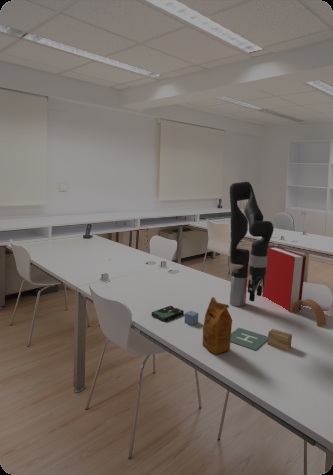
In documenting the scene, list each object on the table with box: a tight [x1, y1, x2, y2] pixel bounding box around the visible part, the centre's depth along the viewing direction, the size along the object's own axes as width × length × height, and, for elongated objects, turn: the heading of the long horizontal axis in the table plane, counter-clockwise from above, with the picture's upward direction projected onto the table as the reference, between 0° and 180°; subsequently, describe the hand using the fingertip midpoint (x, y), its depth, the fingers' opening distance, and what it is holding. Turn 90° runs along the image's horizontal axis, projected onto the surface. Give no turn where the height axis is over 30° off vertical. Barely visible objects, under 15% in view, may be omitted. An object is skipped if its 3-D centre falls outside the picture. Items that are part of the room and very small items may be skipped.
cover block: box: [266, 328, 293, 352], centre depth 160 cm, size 5×9×6 cm, turn 52°
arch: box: [289, 298, 327, 327], centre depth 191 cm, size 6×20×10 cm, turn 24°
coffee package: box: [201, 296, 233, 355], centre depth 155 cm, size 10×12×22 cm
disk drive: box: [151, 305, 185, 323], centre depth 190 cm, size 10×3×15 cm
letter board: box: [230, 327, 268, 352], centre depth 166 cm, size 16×16×1 cm
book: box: [261, 245, 307, 312], centre depth 212 cm, size 27×8×32 cm, turn 20°
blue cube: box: [184, 310, 199, 326], centre depth 182 cm, size 5×5×5 cm
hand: (255, 298), depth 164 cm, fingers open, 8 cm apart
